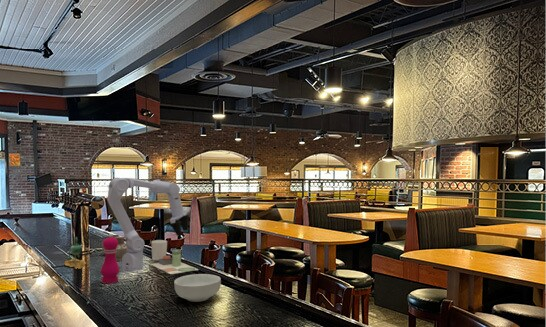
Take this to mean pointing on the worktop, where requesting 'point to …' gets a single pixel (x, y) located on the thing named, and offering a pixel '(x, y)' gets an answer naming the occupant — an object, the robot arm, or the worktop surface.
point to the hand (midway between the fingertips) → (182, 232)
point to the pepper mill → (110, 260)
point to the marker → (176, 257)
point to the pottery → (119, 247)
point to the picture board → (171, 269)
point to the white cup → (159, 249)
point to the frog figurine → (75, 251)
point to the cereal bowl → (197, 286)
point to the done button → (166, 258)
